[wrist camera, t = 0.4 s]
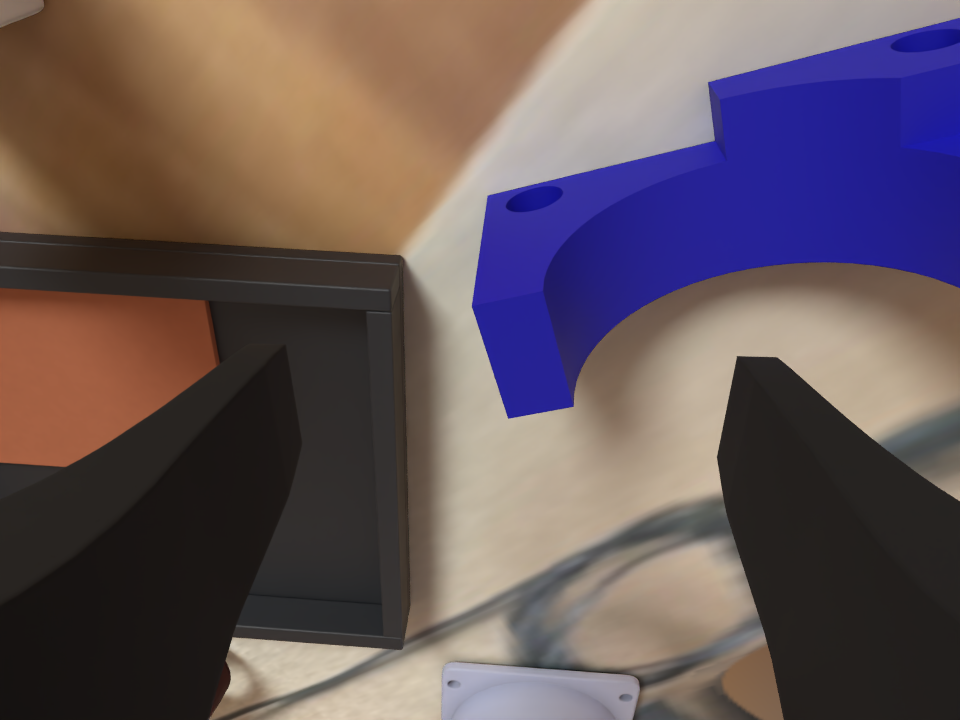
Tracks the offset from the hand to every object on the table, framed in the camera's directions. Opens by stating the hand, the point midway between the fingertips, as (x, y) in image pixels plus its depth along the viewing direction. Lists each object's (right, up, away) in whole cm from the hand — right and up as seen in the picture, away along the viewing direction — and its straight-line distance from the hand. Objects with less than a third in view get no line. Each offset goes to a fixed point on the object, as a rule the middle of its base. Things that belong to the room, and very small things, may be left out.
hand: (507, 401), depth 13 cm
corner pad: (-13, 0, +12) cm, 18 cm away
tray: (-11, -2, +14) cm, 18 cm away
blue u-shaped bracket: (+6, +6, +8) cm, 11 cm away
